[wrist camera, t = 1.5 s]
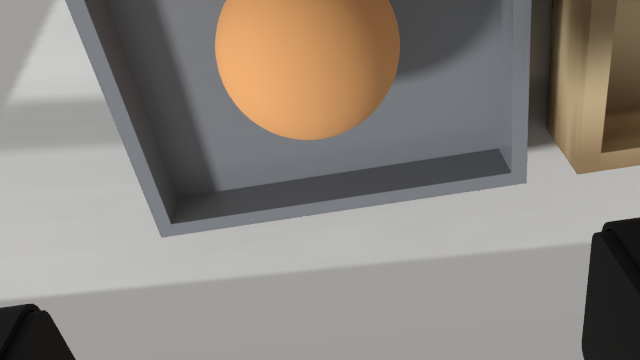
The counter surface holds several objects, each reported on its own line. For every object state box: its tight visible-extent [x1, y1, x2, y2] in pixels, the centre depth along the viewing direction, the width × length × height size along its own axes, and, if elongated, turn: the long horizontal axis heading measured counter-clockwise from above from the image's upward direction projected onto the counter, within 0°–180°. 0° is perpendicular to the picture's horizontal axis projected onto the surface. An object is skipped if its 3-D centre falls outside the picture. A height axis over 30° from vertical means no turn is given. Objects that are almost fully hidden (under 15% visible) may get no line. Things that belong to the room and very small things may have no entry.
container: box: [65, 0, 532, 237], centre depth 22 cm, size 15×15×2 cm
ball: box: [215, 0, 400, 140], centre depth 20 cm, size 6×6×6 cm
